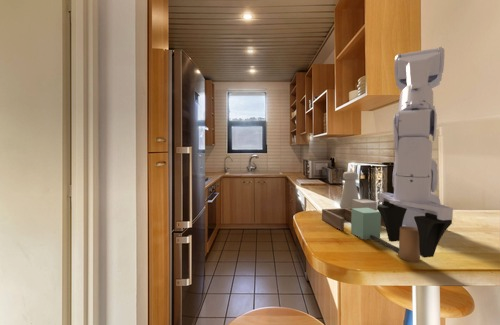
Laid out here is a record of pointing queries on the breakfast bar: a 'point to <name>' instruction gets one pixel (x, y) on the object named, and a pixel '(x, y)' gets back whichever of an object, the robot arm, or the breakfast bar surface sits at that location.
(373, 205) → the grey block
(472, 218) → the breakfast bar surface
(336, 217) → the walnut rack
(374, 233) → the tethered block
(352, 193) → the salt shaker
